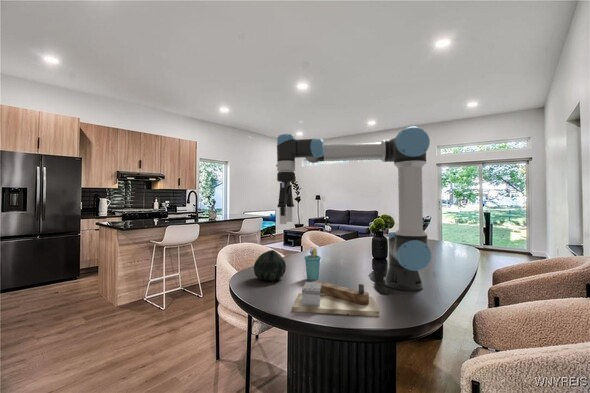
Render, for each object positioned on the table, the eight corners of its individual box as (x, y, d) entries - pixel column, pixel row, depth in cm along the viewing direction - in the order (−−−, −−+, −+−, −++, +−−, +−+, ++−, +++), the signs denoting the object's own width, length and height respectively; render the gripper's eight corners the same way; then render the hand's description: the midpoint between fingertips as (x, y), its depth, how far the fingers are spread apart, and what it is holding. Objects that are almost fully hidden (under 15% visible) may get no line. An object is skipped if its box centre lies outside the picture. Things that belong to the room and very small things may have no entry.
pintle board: (373, 300, 102) (373, 296, 102) (379, 316, 88) (379, 311, 88) (298, 297, 106) (298, 293, 106) (292, 311, 92) (292, 306, 92)
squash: (259, 263, 142) (255, 244, 133) (288, 264, 141) (286, 245, 131) (253, 287, 132) (248, 269, 122) (284, 289, 130) (282, 271, 120)
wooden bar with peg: (371, 301, 96) (371, 284, 96) (364, 305, 92) (363, 287, 92) (317, 287, 113) (317, 272, 113) (309, 290, 109) (309, 275, 109)
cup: (319, 284, 123) (319, 250, 123) (302, 283, 124) (302, 250, 125) (321, 276, 137) (321, 245, 137) (306, 275, 138) (305, 245, 138)
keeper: (321, 296, 103) (321, 282, 103) (319, 306, 93) (319, 291, 93) (305, 295, 104) (305, 282, 104) (302, 305, 94) (302, 290, 94)
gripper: (283, 175, 129) (283, 220, 128) (270, 168, 104) (270, 225, 104) (299, 174, 128) (299, 220, 127) (289, 168, 103) (290, 225, 103)
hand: (286, 223), depth 115 cm, fingers open, 13 cm apart
